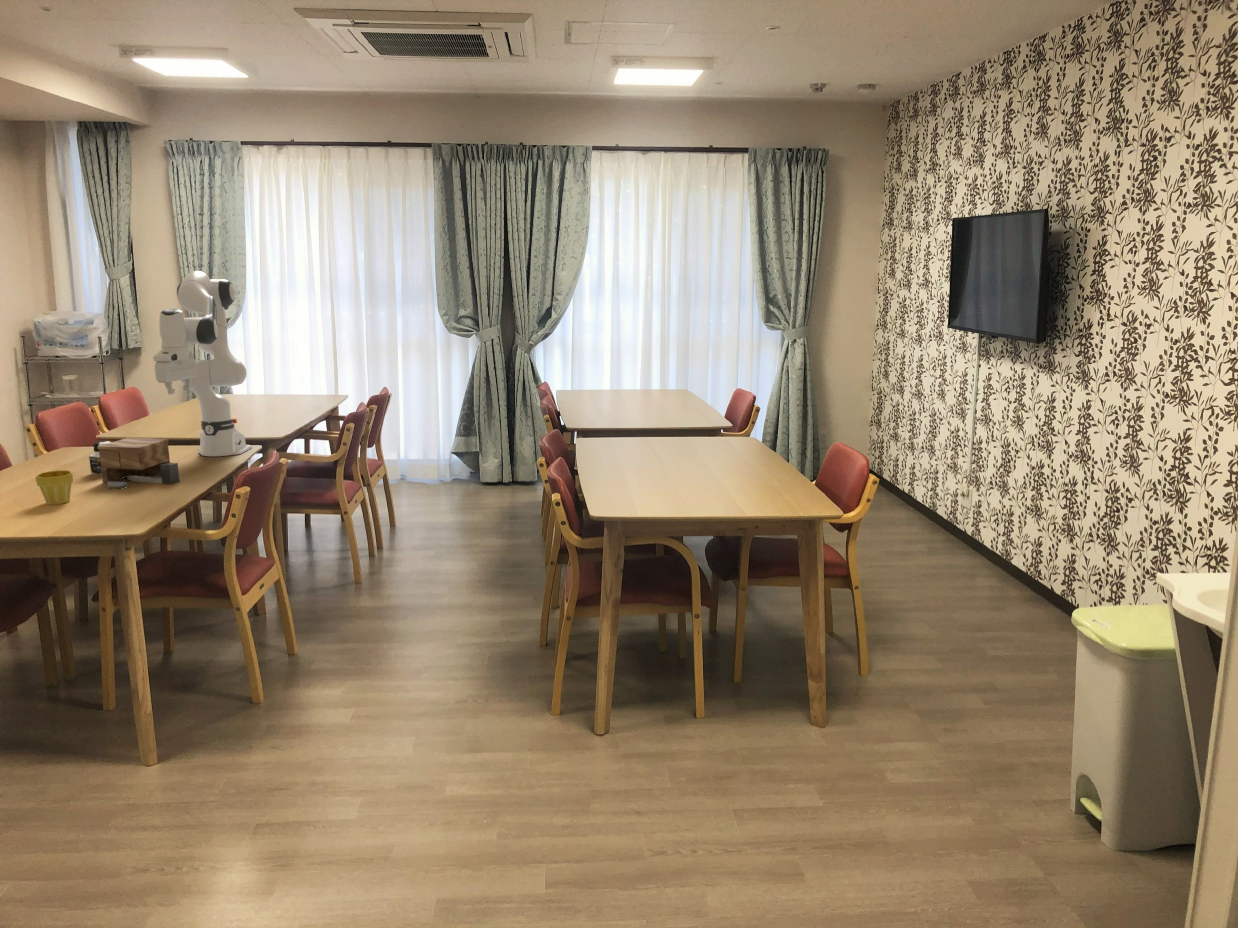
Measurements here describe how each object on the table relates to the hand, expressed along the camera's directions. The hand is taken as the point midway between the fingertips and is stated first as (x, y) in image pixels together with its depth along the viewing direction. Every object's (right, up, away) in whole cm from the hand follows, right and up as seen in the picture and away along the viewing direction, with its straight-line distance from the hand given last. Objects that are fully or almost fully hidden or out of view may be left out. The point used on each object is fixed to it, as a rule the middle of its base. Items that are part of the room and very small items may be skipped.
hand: (179, 392), depth 335 cm
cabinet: (-15, -32, 0) cm, 35 cm away
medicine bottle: (-32, -30, +9) cm, 45 cm away
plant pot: (-24, -39, -33) cm, 57 cm away
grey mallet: (-8, -33, -4) cm, 34 cm away
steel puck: (-15, -35, -13) cm, 40 cm away
